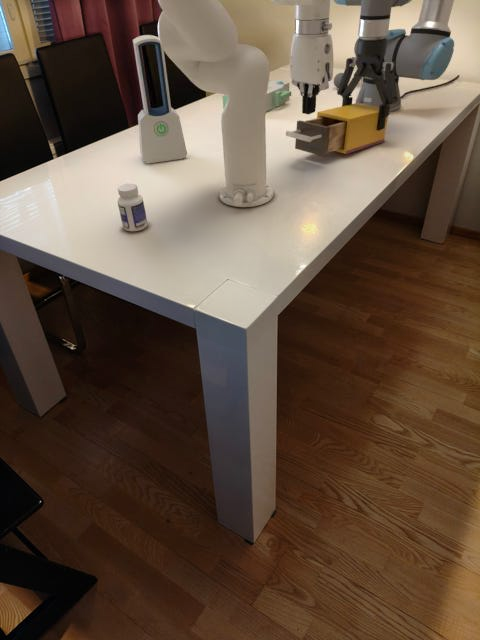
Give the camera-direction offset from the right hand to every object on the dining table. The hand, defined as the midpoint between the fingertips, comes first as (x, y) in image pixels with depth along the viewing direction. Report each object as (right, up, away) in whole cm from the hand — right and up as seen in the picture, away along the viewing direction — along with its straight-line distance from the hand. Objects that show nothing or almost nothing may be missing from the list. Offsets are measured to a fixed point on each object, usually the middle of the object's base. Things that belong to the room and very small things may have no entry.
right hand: (363, 125), depth 140 cm
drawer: (-13, -9, -8) cm, 18 cm away
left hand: (-18, -4, -18) cm, 26 cm away
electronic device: (-57, -9, -1) cm, 58 cm away
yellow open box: (-4, -6, -1) cm, 7 cm away
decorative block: (-29, +22, +38) cm, 52 cm away
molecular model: (+12, +37, +54) cm, 67 cm away
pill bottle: (-58, -36, -34) cm, 76 cm away
